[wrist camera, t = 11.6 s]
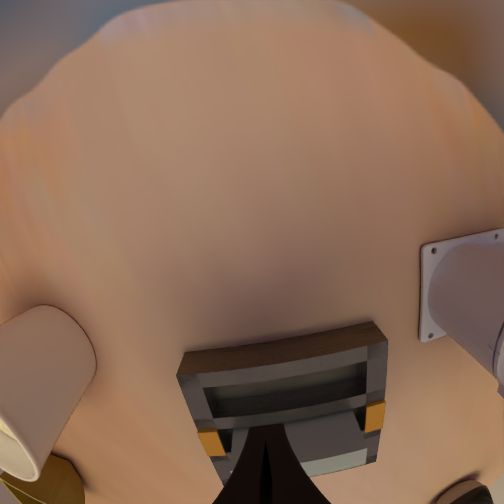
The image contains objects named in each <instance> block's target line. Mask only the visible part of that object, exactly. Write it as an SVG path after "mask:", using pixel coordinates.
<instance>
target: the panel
mask: <svg viewBox="0 0 504 504" xmlns="http://www.w3.org/2000/svg"><path fill="white" fill-rule="evenodd" d="M281 423H282V424H284V426H285V431H286V435H287V438H288V440H289V443H290V445H291V447H292V449H293V451H294V453H295V455H296V457H297V459H298V461H299V462H300V464H301V466H302V467H303V469H304V470H305V472H306V473H307V475H308V476H309V477H311V476H316V475H321V474H326V473H331V472H336V471H340V470H344V469H348V468H352V467H356V466H360V465H363V464H365V463H366V455H367V446H366V443H365V441H364V438H363V436H362V433H361V430H360V428H359V425H358V423H357V420H356V418H355V415H354V413H353V410H352V409H348V410H344V411H340V412H335V413H331V414H326V415H321V416H316V417H311V418H306V419H300V420H294V421H288V422H281ZM275 424H279V423H275ZM267 425H271V424H267ZM259 426H264V425H259ZM250 427H255V426H250ZM250 427H240V428H233V437H232V450H231V463H230V472H231V473H232V472H233V470H234V468H235V466H236V463H237V461H238V459H239V457H240V454H241V452H242V449H243V447H244V444H245V441H246V438H247V434H248V430H249V428H250Z"/></svg>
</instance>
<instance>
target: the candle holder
mask: <svg viewBox="0 0 504 504" xmlns="http://www.w3.org/2000/svg"><path fill="white" fill-rule="evenodd" d="M95 371H96V359H95V354H94V351H93V348H92V345H91V343H90V341H89V339H88V337H87V336H86V334H85V333H84V331H83V330H82V329H81V327H80V326H79V325H78V324H77V323H76V322H75V321H74V320H73V319H72V318H71V317H70V316H69V315H67V314H66V313H65V312H63V311H61V310H60V309H58V308H55V307H52V306H48V305H39V306H35V307H33V308H30V309H28V310H26V311H24V312H23V313H21V314H19V315H17V316H15V317H13V318H12V319H10V320H8V321H6V322H4V323H3V324H1V325H0V468H1V469H3V470H4V471H6V472H7V473H9V474H11V475H12V476H14V477H16V478H19V479H21V480H24V481H29V482H33V481H36V480H37V479H38V478H39V477H40V474H41V471H42V468H43V466H44V464H45V462H46V460H47V459H48V457H49V455H50V453H51V451H52V449H53V447H54V446H55V444H56V442H57V440H58V438H59V437H60V435H61V433H62V431H63V429H64V428H65V426H66V424H67V422H68V421H69V419H70V417H71V415H72V414H73V412H74V410H75V409H76V407H77V405H78V403H79V402H80V400H81V398H82V397H83V395H84V393H85V392H86V390H87V388H88V387H89V385H90V383H91V381H92V379H93V377H94V375H95Z"/></svg>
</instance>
